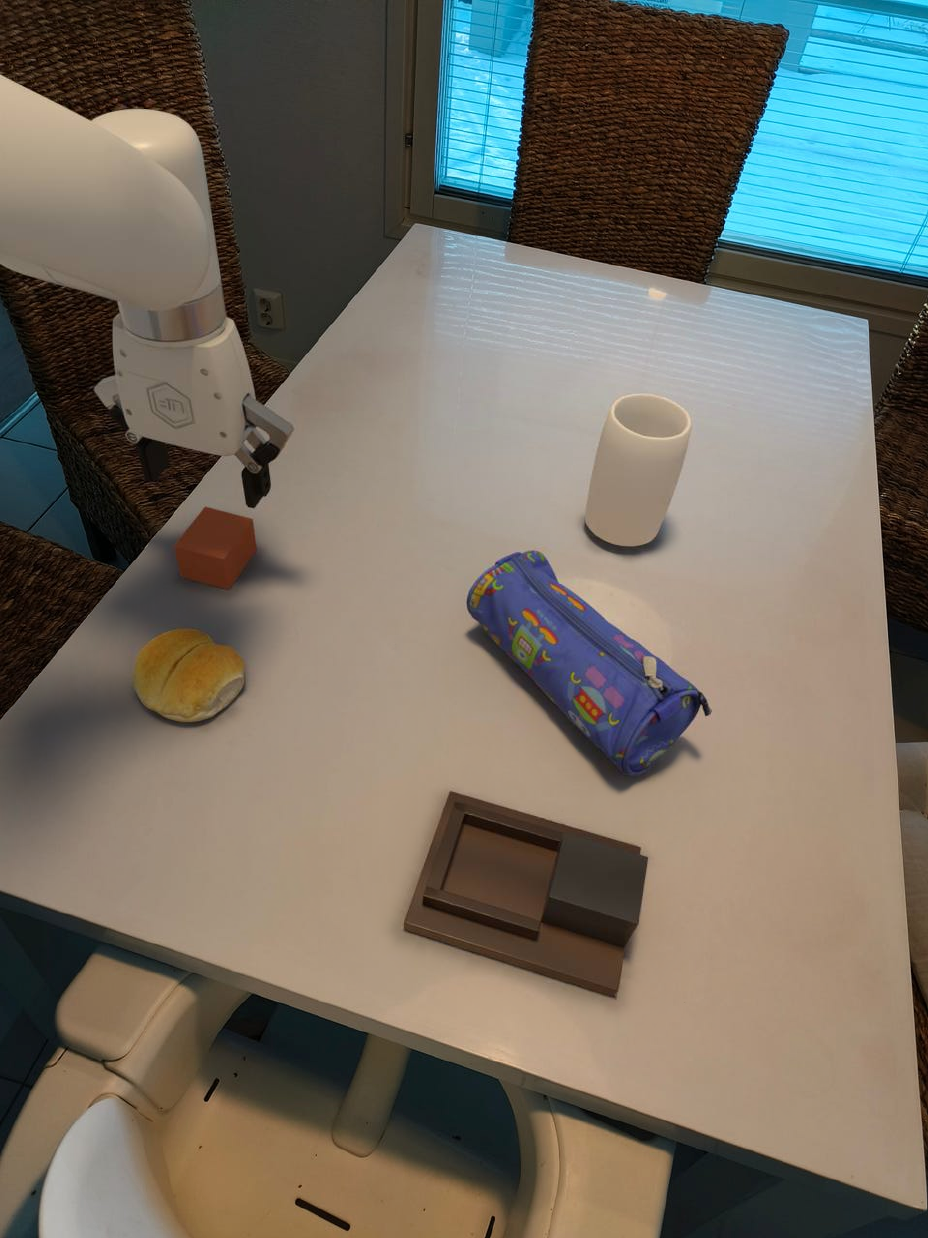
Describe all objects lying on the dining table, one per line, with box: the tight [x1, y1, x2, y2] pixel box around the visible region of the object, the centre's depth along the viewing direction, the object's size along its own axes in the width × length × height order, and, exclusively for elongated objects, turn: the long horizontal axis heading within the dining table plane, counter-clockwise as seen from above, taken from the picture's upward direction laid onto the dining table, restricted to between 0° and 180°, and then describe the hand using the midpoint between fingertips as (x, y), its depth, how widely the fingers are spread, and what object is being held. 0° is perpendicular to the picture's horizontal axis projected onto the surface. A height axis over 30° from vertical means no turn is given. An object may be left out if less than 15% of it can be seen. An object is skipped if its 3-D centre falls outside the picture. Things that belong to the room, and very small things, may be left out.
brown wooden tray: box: [403, 790, 649, 997], centre depth 60 cm, size 11×15×5 cm
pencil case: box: [465, 549, 713, 776], centre depth 71 cm, size 22×9×10 cm, turn 37°
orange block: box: [173, 506, 258, 591], centre depth 81 cm, size 5×6×4 cm
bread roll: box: [132, 627, 245, 723], centre depth 71 cm, size 8×9×4 cm
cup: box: [584, 393, 693, 547], centre depth 85 cm, size 8×8×14 cm
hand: (207, 485), depth 76 cm, fingers open, 9 cm apart
